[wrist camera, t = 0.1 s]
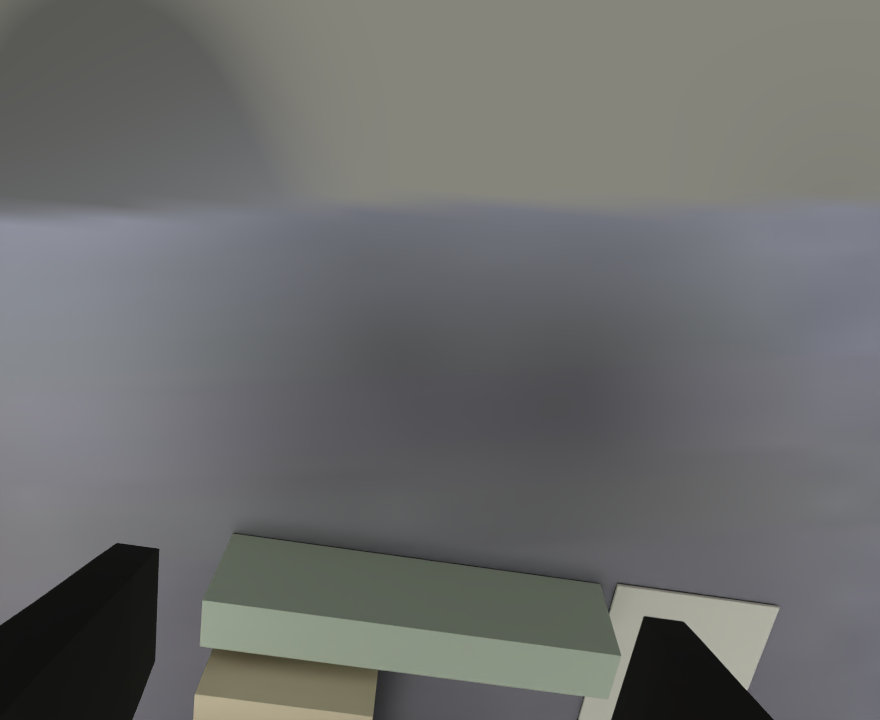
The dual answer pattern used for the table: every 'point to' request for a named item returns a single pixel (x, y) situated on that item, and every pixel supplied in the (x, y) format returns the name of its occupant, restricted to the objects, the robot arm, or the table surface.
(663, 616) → the mat
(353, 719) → the birch block
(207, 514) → the table surface
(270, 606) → the rails
